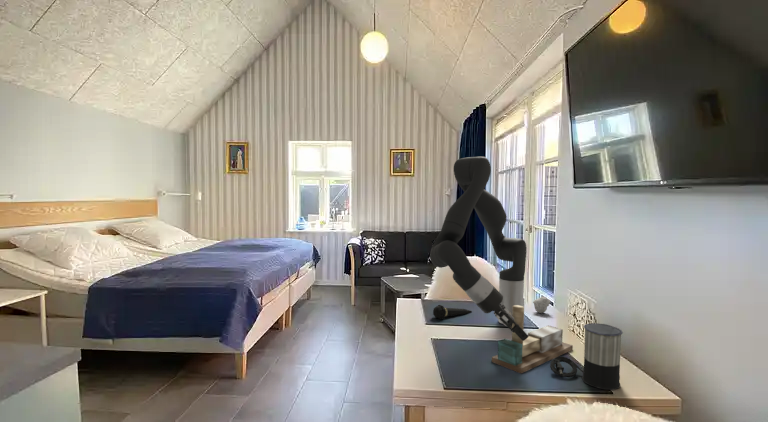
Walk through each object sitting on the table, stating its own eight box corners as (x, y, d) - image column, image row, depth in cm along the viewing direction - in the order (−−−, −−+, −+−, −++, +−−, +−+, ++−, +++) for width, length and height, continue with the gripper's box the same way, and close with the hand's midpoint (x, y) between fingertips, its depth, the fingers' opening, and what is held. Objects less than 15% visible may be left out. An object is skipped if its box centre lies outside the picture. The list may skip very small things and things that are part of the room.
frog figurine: (550, 315, 171) (550, 299, 171) (532, 313, 174) (532, 297, 174) (549, 311, 177) (550, 295, 177) (532, 310, 180) (533, 294, 179)
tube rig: (544, 340, 142) (544, 320, 142) (572, 349, 134) (573, 328, 134) (491, 361, 124) (492, 338, 124) (520, 373, 116) (521, 349, 116)
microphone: (467, 318, 177) (430, 320, 166) (466, 305, 178) (429, 305, 168) (476, 318, 172) (439, 319, 162) (475, 304, 174) (438, 304, 163)
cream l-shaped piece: (537, 343, 133) (538, 298, 132) (547, 346, 131) (548, 300, 130) (503, 356, 122) (504, 307, 121) (513, 360, 119) (514, 310, 119)
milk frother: (628, 390, 107) (630, 334, 106) (569, 391, 106) (571, 334, 105) (596, 367, 121) (598, 317, 120) (544, 368, 120) (546, 317, 119)
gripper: (496, 291, 116) (539, 334, 115) (488, 280, 130) (526, 318, 129) (477, 308, 117) (519, 352, 116) (471, 296, 131) (509, 334, 130)
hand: (523, 334), depth 123 cm, fingers open, 6 cm apart
